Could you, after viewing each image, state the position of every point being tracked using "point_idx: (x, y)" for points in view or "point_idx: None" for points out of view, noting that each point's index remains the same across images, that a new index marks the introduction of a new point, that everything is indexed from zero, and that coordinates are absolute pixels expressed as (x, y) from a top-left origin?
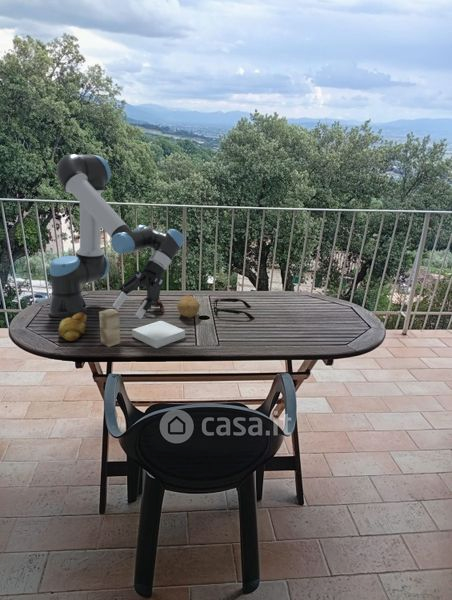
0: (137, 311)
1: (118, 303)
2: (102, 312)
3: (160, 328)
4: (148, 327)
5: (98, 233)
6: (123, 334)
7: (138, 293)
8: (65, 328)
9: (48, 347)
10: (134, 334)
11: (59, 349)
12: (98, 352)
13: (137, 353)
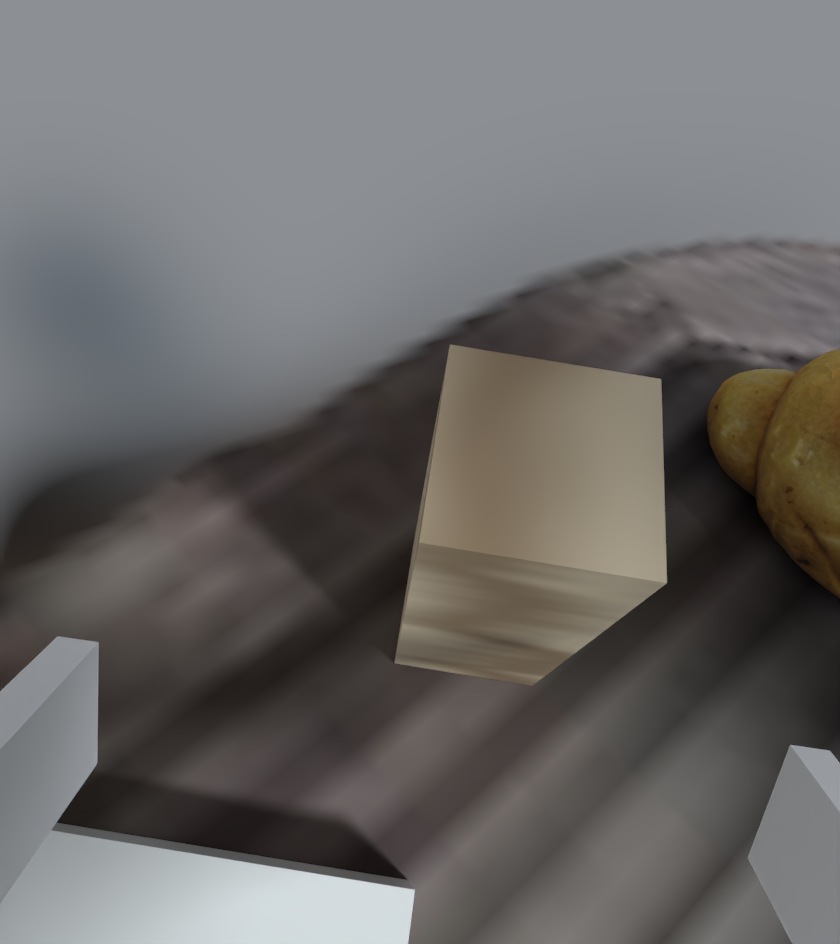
0: (50, 692)
1: (827, 887)
2: (601, 386)
3: None
4: None
5: None
6: (541, 860)
7: None
8: (828, 352)
9: (730, 294)
10: (369, 878)
11: (651, 311)
12: (397, 420)
13: (92, 590)
